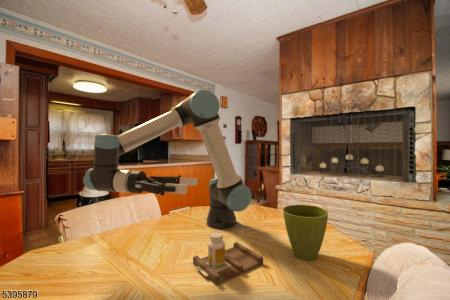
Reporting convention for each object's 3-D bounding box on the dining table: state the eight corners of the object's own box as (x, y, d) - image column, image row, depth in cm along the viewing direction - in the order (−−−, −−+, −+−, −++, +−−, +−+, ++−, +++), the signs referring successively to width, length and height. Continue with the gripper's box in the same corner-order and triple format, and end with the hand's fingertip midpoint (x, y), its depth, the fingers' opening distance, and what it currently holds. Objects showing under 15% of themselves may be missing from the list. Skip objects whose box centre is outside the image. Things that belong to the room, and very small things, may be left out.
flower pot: (325, 272, 66) (325, 220, 65) (277, 259, 73) (277, 212, 73) (331, 251, 78) (330, 208, 78) (289, 242, 86) (289, 203, 86)
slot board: (190, 264, 71) (190, 257, 71) (236, 248, 82) (236, 242, 82) (212, 286, 60) (212, 278, 59) (263, 263, 71) (263, 256, 71)
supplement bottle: (227, 262, 70) (227, 232, 70) (222, 271, 65) (221, 239, 65) (212, 259, 72) (211, 230, 72) (205, 268, 67) (205, 237, 67)
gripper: (148, 186, 86) (200, 189, 84) (107, 201, 61) (180, 207, 59) (148, 167, 86) (201, 170, 83) (108, 175, 61) (181, 179, 59)
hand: (192, 185), depth 71 cm, fingers open, 13 cm apart
